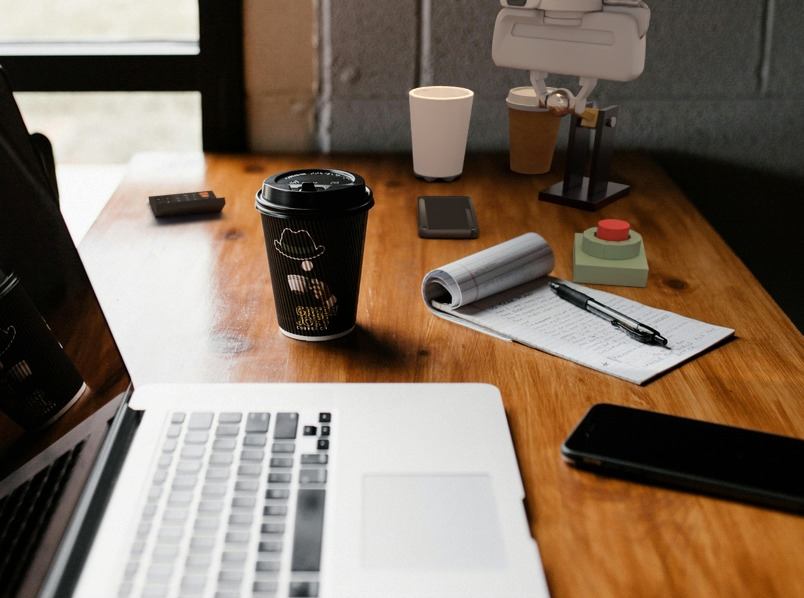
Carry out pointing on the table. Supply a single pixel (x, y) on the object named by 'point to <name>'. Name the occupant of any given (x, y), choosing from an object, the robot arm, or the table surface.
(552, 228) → the table surface
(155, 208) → the calculator
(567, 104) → the switch lever
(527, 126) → the disposable coffee cup
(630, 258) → the button block
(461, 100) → the cup
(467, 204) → the phone
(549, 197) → the switch bracket
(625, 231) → the button
